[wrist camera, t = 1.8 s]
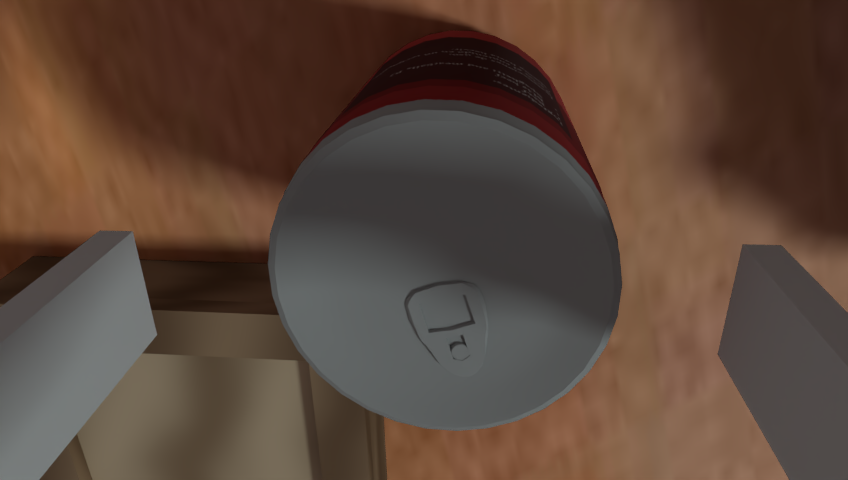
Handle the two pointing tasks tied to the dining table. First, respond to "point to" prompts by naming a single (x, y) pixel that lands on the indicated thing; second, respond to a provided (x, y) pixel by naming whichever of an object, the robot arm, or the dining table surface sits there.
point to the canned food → (448, 241)
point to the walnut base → (216, 391)
